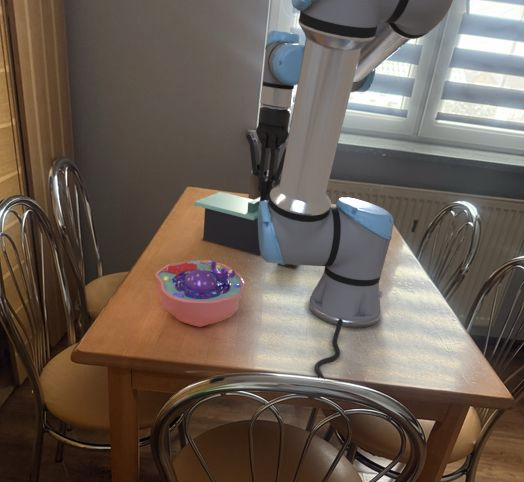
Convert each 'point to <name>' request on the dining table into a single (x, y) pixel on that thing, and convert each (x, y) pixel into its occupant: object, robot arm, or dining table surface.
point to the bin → (231, 231)
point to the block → (289, 265)
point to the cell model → (199, 291)
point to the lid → (231, 205)
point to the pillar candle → (254, 186)
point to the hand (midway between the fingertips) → (263, 205)
